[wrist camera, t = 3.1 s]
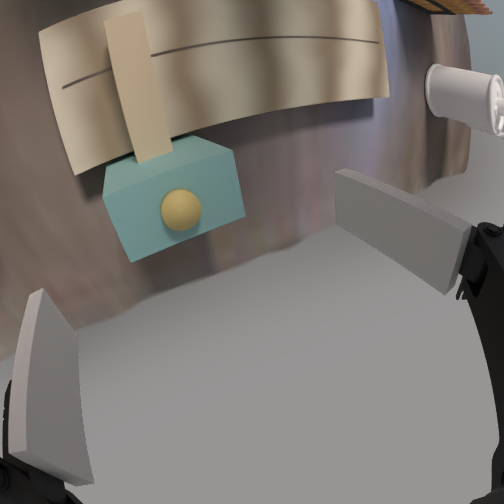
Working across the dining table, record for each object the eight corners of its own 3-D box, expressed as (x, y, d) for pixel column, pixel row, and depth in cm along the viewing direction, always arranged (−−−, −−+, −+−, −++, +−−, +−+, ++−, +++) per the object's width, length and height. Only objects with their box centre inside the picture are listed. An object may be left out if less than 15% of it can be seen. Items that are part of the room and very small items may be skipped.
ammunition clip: (392, -3, 21) (470, -5, 12) (389, -14, 20) (466, -18, 11) (430, 14, 25) (495, 20, 15) (428, 5, 23) (493, 9, 14)
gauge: (122, 204, 22) (132, 270, 14) (78, 51, 14) (51, 8, 6) (197, 175, 24) (252, 221, 16) (163, 25, 16) (202, -29, 8)
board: (78, 168, 19) (74, 175, 17) (45, 39, 12) (38, 31, 10) (373, 95, 28) (389, 97, 26) (361, 5, 21) (377, 2, 19)
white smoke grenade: (417, 79, 30) (544, 112, 14) (438, 55, 29) (548, 80, 14) (435, 132, 36) (540, 175, 21) (453, 104, 36) (549, 138, 20)
